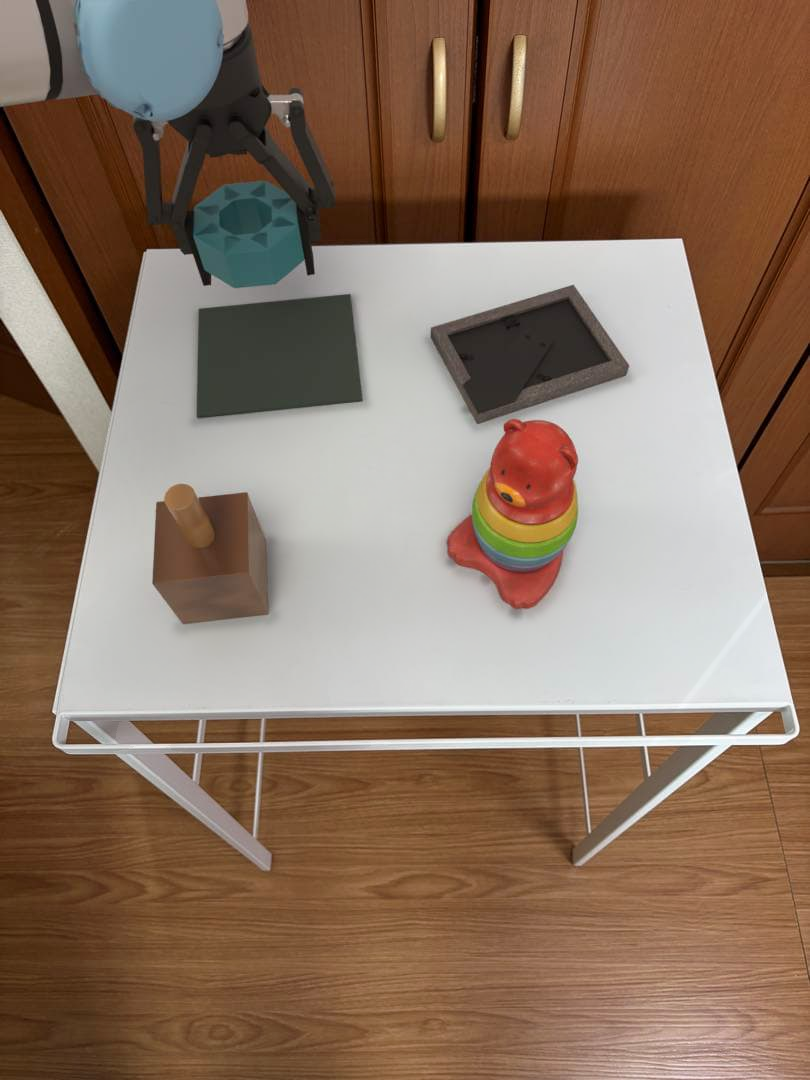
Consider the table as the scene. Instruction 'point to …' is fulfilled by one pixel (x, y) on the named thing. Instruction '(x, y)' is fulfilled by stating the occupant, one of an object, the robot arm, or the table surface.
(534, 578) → the stacking bear
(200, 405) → the mat
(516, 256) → the table surface
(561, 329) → the picture frame
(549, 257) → the table surface
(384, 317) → the table surface
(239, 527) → the ring stand
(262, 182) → the ring
